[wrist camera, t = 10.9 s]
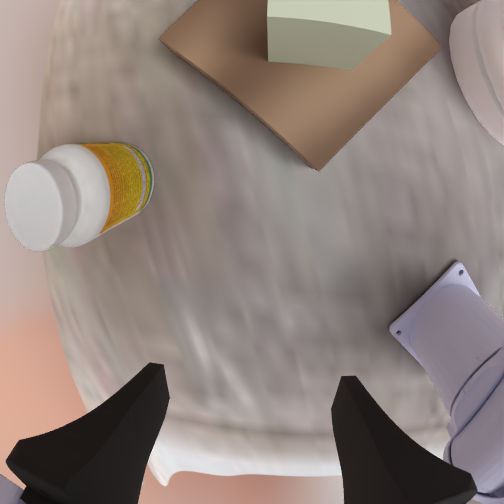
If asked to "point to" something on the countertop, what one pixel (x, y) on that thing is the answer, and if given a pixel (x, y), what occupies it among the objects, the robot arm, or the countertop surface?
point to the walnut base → (297, 74)
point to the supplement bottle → (77, 193)
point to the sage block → (326, 31)
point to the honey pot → (481, 62)
